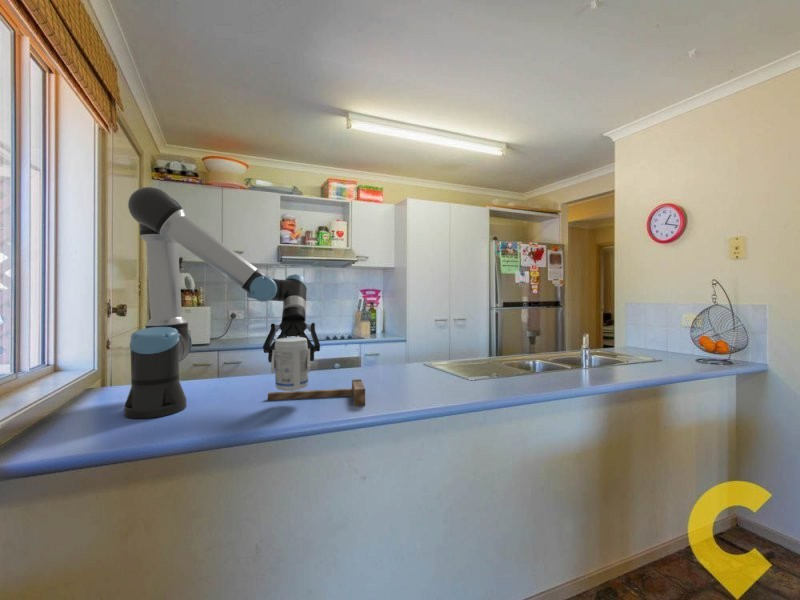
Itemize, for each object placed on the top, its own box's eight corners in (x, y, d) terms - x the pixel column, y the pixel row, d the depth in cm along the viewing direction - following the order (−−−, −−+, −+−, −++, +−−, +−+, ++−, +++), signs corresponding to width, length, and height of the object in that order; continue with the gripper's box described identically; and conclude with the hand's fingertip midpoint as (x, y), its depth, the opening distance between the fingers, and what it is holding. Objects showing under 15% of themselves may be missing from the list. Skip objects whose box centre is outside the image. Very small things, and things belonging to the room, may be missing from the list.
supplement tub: (300, 381, 123) (299, 336, 122) (313, 388, 115) (313, 339, 115) (270, 386, 117) (269, 338, 116) (282, 393, 109) (282, 342, 109)
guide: (262, 411, 110) (262, 394, 109) (268, 398, 122) (268, 383, 122) (366, 405, 115) (366, 388, 115) (362, 393, 128) (362, 379, 128)
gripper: (327, 319, 133) (329, 375, 118) (260, 320, 128) (252, 378, 113) (328, 304, 127) (329, 361, 112) (257, 305, 123) (249, 364, 108)
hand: (290, 370), depth 113 cm, fingers closed on supplement tub, 9 cm apart
